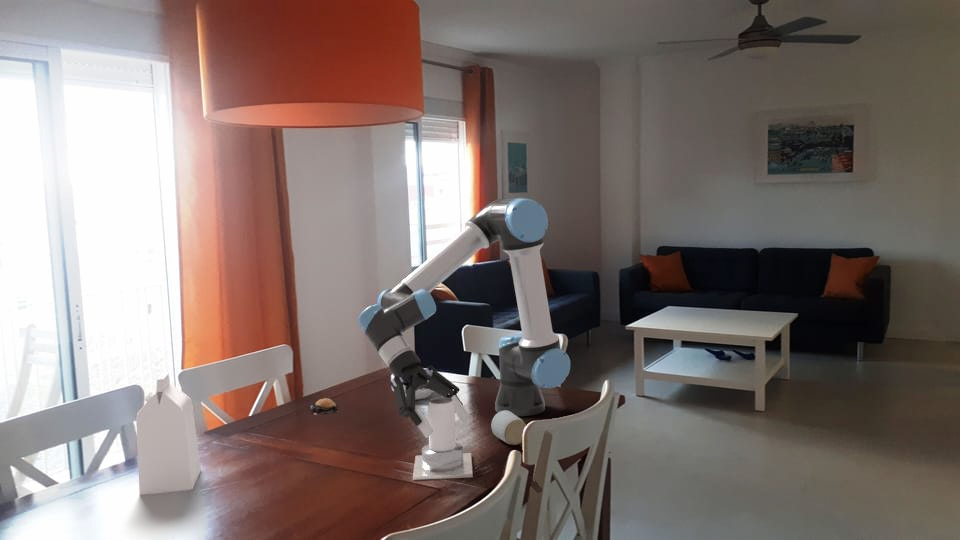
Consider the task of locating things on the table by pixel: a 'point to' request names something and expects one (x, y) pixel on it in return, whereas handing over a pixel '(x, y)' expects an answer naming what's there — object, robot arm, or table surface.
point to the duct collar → (442, 464)
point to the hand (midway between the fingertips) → (448, 426)
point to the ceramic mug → (508, 427)
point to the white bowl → (418, 391)
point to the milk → (167, 441)
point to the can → (442, 424)
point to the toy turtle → (324, 406)
